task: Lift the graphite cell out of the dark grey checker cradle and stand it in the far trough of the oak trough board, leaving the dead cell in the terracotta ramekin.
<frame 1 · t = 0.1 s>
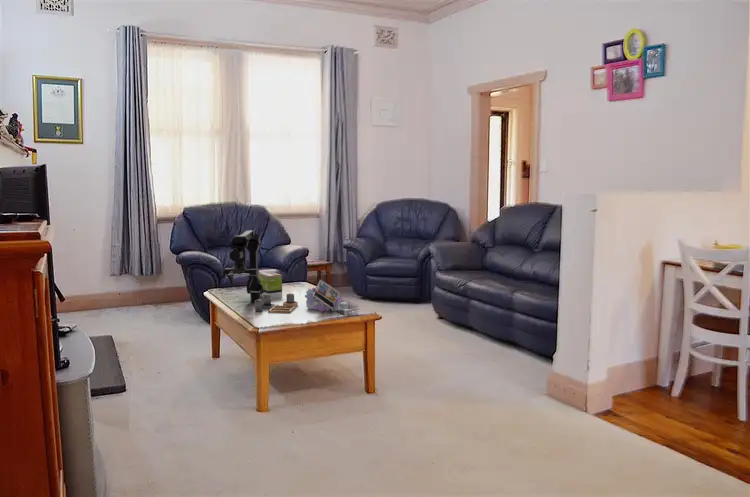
hand: (241, 287, 349), 15 cm above the table, tool pointing down, fingers open, 9 cm apart
dead cell: (290, 306, 367), point 1 cm above the table, touching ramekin
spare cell: (259, 312, 353), on the table
checker cradle: (269, 308, 363), on the table
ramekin: (290, 307, 367), on the table
tea box: (269, 297, 400), on the table
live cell: (267, 307, 363), point 1 cm above the table, touching checker cradle
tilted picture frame: (323, 310, 362), on the table
trough board: (282, 311, 356), on the table
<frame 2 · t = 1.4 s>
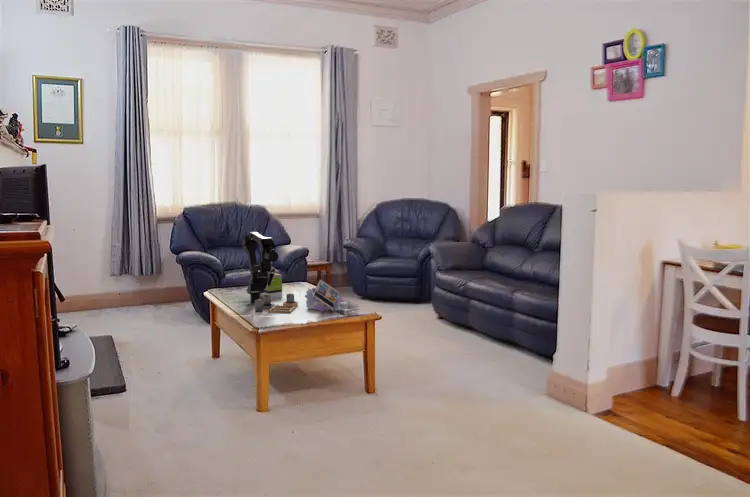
hand: (266, 287, 362), 12 cm above the table, tool pointing down, fingers open, 9 cm apart
nothing on the table moved.
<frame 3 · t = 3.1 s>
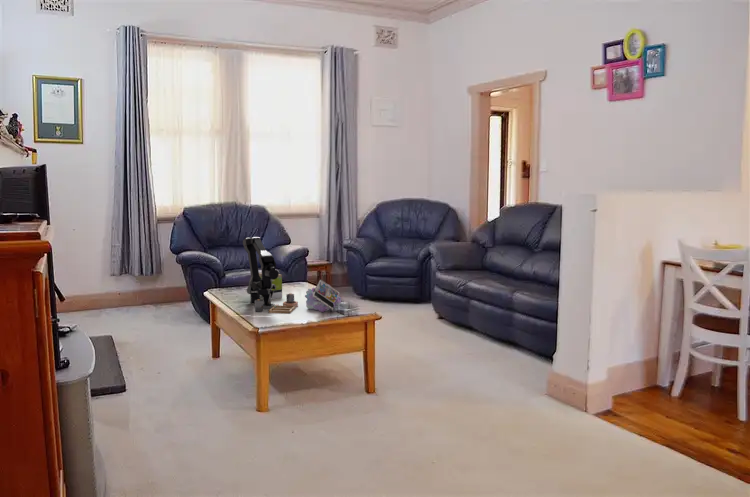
hand: (267, 304, 363), 3 cm above the table, tool pointing down, fingers closed on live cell, 4 cm apart
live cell: (267, 307, 363), point 1 cm above the table, touching checker cradle, gripper
everything else where it was.
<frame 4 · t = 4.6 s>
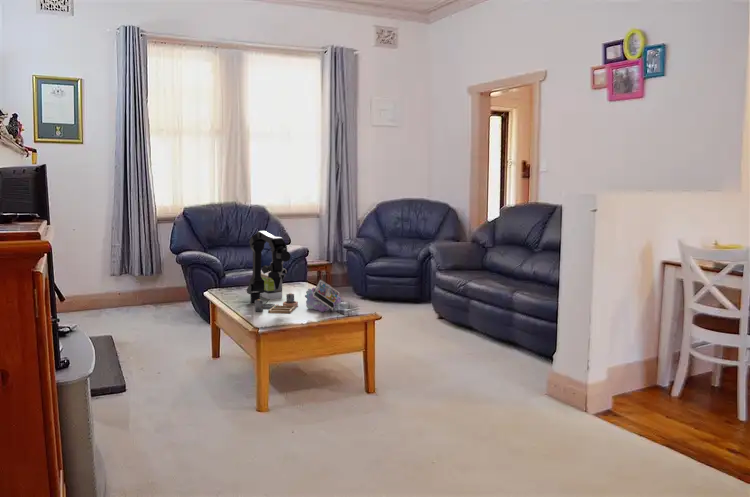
hand: (278, 288, 353), 13 cm above the table, tool pointing down, fingers closed on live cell, 4 cm apart
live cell: (278, 291, 353), point 12 cm above the table, touching gripper
everything else where it was.
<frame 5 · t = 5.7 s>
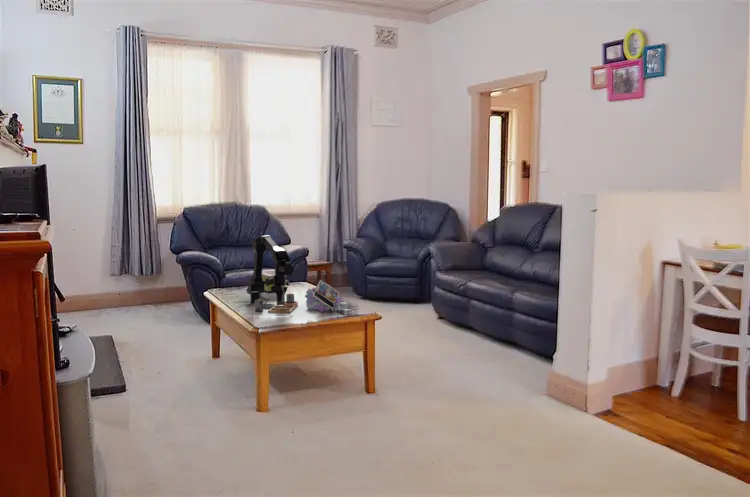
hand: (280, 301, 352), 7 cm above the table, tool pointing down, fingers closed on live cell, 4 cm apart
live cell: (280, 304, 352), point 5 cm above the table, touching gripper
everything else where it was.
when the fingers open (4 cm above the table, at t = 6.5 s): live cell stays where it is, resting on trough board.
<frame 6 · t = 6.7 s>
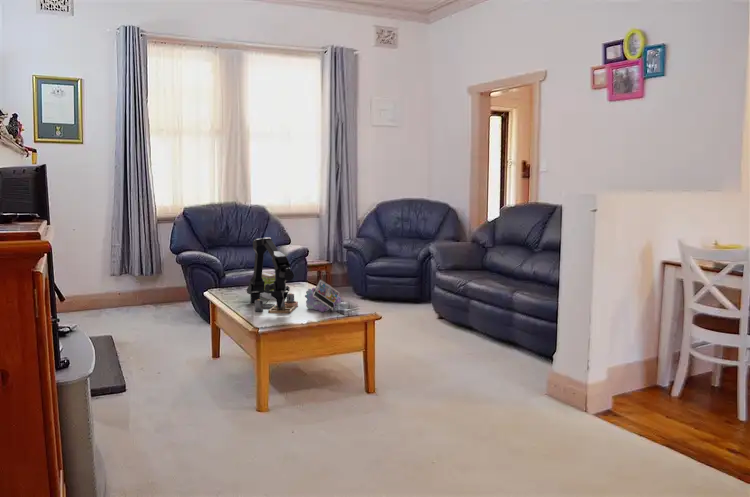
hand: (280, 306, 352), 4 cm above the table, tool pointing down, fingers open, 6 cm apart
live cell: (280, 311, 352), point 1 cm above the table, touching trough board
everything else where it was.
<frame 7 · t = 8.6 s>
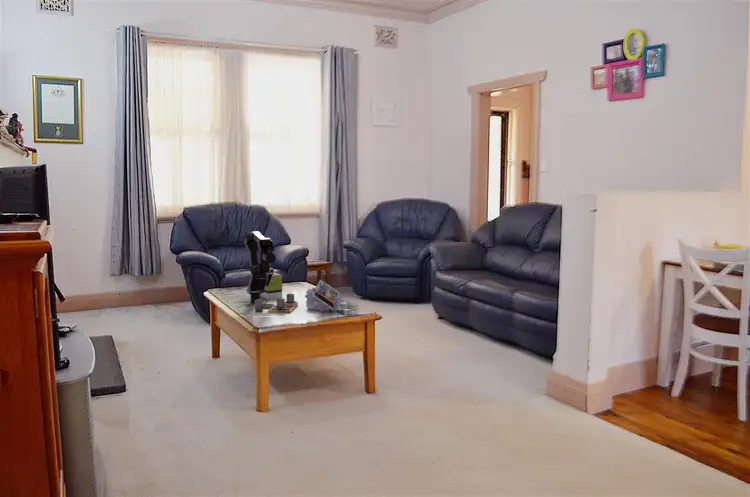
hand: (265, 288, 360), 12 cm above the table, tool pointing down, fingers open, 9 cm apart
nothing on the table moved.
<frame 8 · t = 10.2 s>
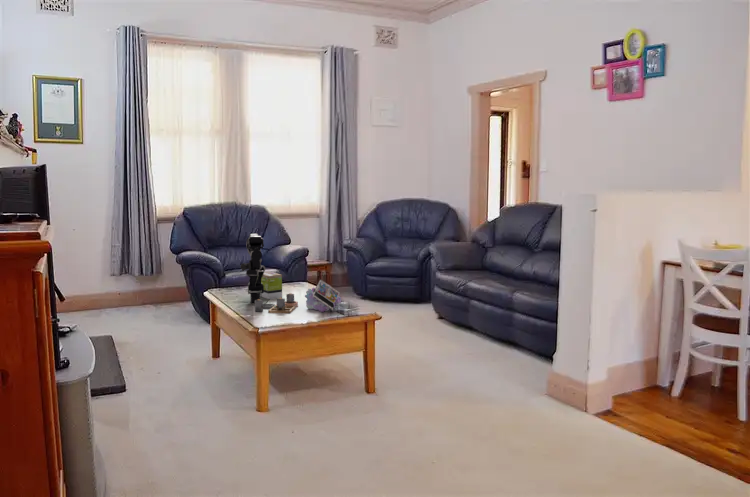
hand: (256, 285, 365), 13 cm above the table, tool pointing down, fingers open, 9 cm apart
nothing on the table moved.
at the end: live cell inside the target area on the trough board (0.1 cm from its centre), point 0.8 cm above the trough board's base; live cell tilted 1°; the gripper is holding nothing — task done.
